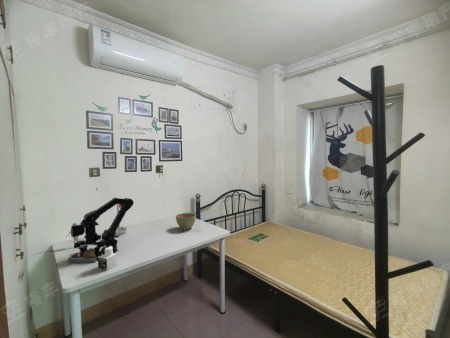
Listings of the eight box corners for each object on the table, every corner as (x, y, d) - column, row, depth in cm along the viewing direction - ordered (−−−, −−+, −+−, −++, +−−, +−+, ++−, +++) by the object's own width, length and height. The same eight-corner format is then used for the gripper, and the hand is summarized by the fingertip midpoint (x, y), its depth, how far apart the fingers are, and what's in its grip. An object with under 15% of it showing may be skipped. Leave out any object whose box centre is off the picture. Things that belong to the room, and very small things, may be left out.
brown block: (99, 255, 145) (98, 248, 145) (93, 259, 139) (93, 252, 139) (89, 255, 145) (89, 248, 145) (84, 260, 139) (83, 252, 139)
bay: (109, 250, 154) (109, 242, 153) (95, 262, 136) (95, 253, 136) (80, 251, 153) (80, 243, 153) (62, 263, 136) (62, 254, 136)
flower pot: (179, 233, 188) (179, 219, 187) (173, 227, 203) (173, 214, 203) (199, 229, 197) (198, 216, 196) (191, 224, 212) (191, 212, 212)
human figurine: (67, 250, 155) (66, 225, 154) (65, 249, 157) (64, 224, 157) (86, 245, 165) (85, 221, 164) (84, 244, 167) (82, 220, 166)
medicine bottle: (97, 268, 128) (97, 248, 128) (108, 263, 135) (107, 244, 134) (107, 270, 126) (106, 250, 125) (117, 265, 132) (116, 245, 132)
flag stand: (118, 238, 178) (117, 201, 177) (106, 236, 183) (105, 200, 182) (131, 233, 190) (129, 198, 189) (119, 231, 195) (118, 198, 194)
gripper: (111, 228, 150) (112, 251, 150) (83, 229, 149) (84, 251, 150) (102, 234, 139) (103, 258, 139) (72, 235, 138) (73, 259, 139)
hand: (91, 256), depth 142 cm, fingers closed on brown block, 6 cm apart
